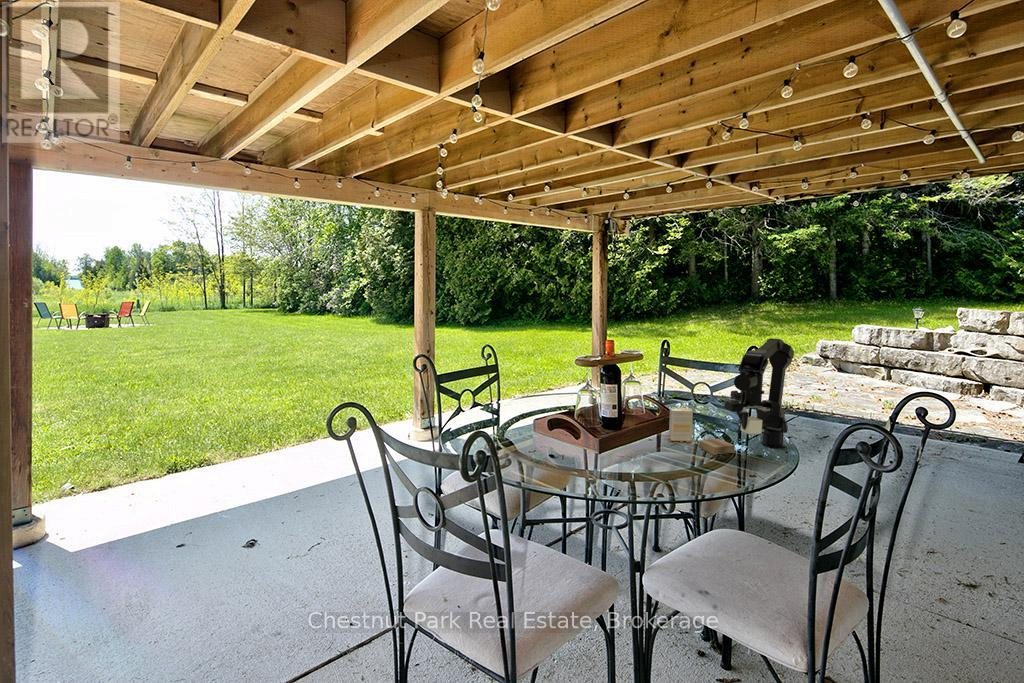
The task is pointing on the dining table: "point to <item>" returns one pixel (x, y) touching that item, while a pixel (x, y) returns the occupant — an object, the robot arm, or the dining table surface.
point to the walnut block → (716, 446)
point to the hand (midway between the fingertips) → (751, 429)
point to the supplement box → (680, 424)
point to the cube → (753, 426)
